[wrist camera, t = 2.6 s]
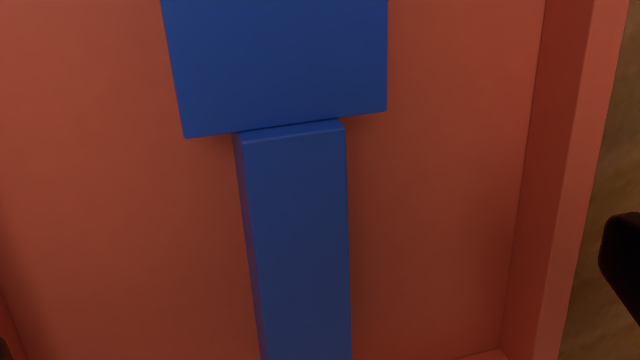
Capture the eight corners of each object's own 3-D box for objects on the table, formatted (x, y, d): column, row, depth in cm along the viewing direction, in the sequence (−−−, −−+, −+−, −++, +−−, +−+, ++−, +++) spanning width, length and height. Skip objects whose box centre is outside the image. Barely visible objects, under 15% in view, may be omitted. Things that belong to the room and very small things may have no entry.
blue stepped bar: (361, 339, 15) (391, 404, 13) (225, 369, 14) (235, 443, 12) (353, -138, 10) (400, -148, 8) (140, -130, 9) (134, -139, 7)
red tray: (509, 347, 17) (549, 399, 15) (43, 459, 14) (26, 539, 13) (602, -292, 10) (699, -335, 8) (-281, -308, 7) (-425, -379, 6)
